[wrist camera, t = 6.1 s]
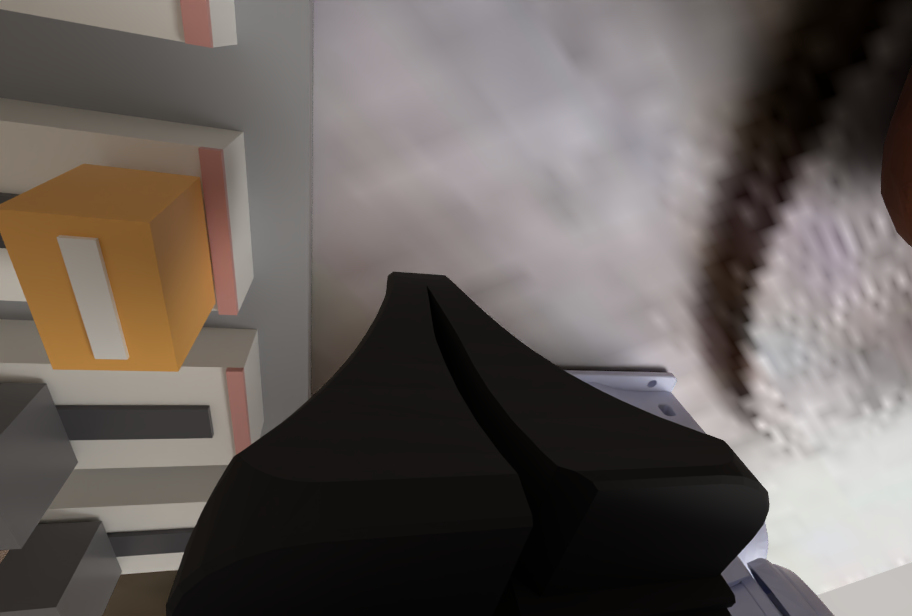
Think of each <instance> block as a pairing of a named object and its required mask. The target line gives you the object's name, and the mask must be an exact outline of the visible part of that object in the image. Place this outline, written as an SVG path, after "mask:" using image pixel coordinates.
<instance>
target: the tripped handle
mask: <svg viewBox="0 0 912 616" xmlns="http://www.w3.org/2000/svg"><path fill="white" fill-rule="evenodd" d="M0 233H1V236H2V238H3V241H4V244H5V246H6V249H7V251H8V254H9V257H10V259H11V262H12V264H13V267H14V270H15V272H16V275H17V277H18V280H19V283H20V285H21V288H22V290H23V293H24V296H25V298H26V301H27V303H28V306H29V309H30V311H31V314H32V316H33V319H34V322H35V324H36V327H37V329H38V332H39V335H40V337H41V340H42V342H43V345H44V348H45V350H46V353H47V355H48V358H49V361H50V363H51V366H52V368H53V370H110V371H167V372H179V370H180V368H181V366H182V364H183V362H184V360H185V359H186V357H187V355H188V353H189V351H190V349H191V347H192V346H193V344H194V342H195V340H196V338H197V336H198V334H199V333H200V331H201V329H202V327H203V325H204V323H205V322H206V320H207V318H208V316H209V314H210V312H211V310H212V309H213V307H214V305H215V303H216V302H215V294H214V286H213V278H212V270H211V262H210V254H209V246H208V238H207V230H206V222H205V215H204V207H203V199H202V191H201V183H200V177H196V176H187V175H179V174H170V173H161V172H153V171H144V170H135V169H126V168H118V167H109V166H100V165H92V164H82V165H80V166H78V167H76V168H74V169H72V170H69V171H67V172H65V173H63V174H61V175H59V176H57V177H55V178H53V179H51V180H49V181H47V182H45V183H43V184H41V185H39V186H36V187H34V188H32V189H30V190H28V191H26V192H24V193H22V194H20V195H18V196H16V197H14V198H12V199H10V200H8V201H5V202H3V203H1V204H0Z"/></svg>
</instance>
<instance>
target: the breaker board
mask: <svg viewBox="0 0 912 616" xmlns="http://www.w3.org/2000/svg"><path fill="white" fill-rule="evenodd" d="M312 147H313V0H0V204H1V203H3V202H5V201H8V200H10V199H12V198H14V197H16V196H18V195H20V194H22V193H24V192H26V191H28V190H30V189H32V188H34V187H36V186H39V185H41V184H43V183H45V182H47V181H49V180H51V179H53V178H55V177H57V176H59V175H61V174H63V173H65V172H67V171H69V170H72V169H74V168H76V167H78V166H80V165H82V164H92V165H100V166H109V167H118V168H126V169H135V170H144V171H153V172H161V173H170V174H179V175H187V176H196V177H200V183H201V191H202V199H203V207H204V215H205V222H206V230H207V238H208V246H209V254H210V262H211V270H212V278H213V286H214V294H215V302H216V303H215V305H214V307H213V309H212V310H211V312H210V314H209V316H208V318H207V320H206V322H205V323H204V325H203V327H202V329H201V331H200V333H199V334H198V336H197V338H196V340H195V342H194V344H193V346H192V347H191V349H190V351H189V353H188V355H187V357H186V359H185V360H184V362H183V364H182V366H181V368H180V370H179V372H167V371H110V370H53V368H52V366H51V363H50V361H49V358H48V355H47V353H46V350H45V348H44V345H43V342H42V340H41V337H40V335H39V332H38V329H37V327H36V324H35V322H34V319H33V316H32V314H31V311H30V309H29V306H28V303H27V301H26V298H25V296H24V293H23V290H22V288H21V285H20V283H19V280H18V277H17V275H16V272H15V270H14V267H13V264H12V262H11V259H10V257H9V254H8V251H7V249H6V246H5V244H4V241H3V238H2V236H1V233H0V550H9V552H8V553H7V555H6V556H5V558H4V559H3V561H2V562H1V563H0V616H102V615H103V613H104V611H105V609H106V606H107V604H108V602H109V600H110V597H111V595H112V593H113V591H114V588H115V586H116V584H117V582H118V579H119V577H120V575H121V574H133V573H146V572H158V571H170V570H178V569H179V566H180V563H181V560H182V557H183V554H184V551H185V548H186V545H187V543H188V541H189V538H190V536H191V533H192V531H193V529H194V527H195V525H196V523H197V521H198V519H199V517H200V515H201V512H202V510H203V508H204V506H205V505H206V503H207V501H208V499H209V497H210V495H211V493H212V492H213V490H214V488H215V486H216V485H217V483H218V481H219V479H220V478H221V476H222V474H223V473H224V471H225V469H226V468H227V466H228V465H229V463H230V461H231V460H232V458H233V457H234V456H235V455H237V454H238V453H240V452H241V451H243V450H244V449H245V448H247V447H248V446H250V445H251V444H252V443H254V442H255V441H257V440H258V439H259V438H261V437H262V436H264V435H265V434H266V433H268V432H269V431H271V430H272V429H273V428H275V427H276V426H278V425H279V424H280V423H282V422H283V421H284V420H285V419H287V418H288V417H289V416H290V415H292V414H293V413H294V412H295V411H296V410H297V409H298V408H300V407H301V406H302V405H303V404H304V403H305V402H306V401H307V400H309V399H310V398H311V309H312Z"/></svg>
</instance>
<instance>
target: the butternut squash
mask: <svg viewBox="0 0 912 616" xmlns="http://www.w3.org/2000/svg"><path fill="white" fill-rule="evenodd" d="M881 194H882V197H883V200H884V203H885V206H886V208H887V210H888V212H889V215H890V217H891V219H892V222H893V224H894V226H895V229H896V231H897V233H898V234H899V235H900V236H901V237H902V238H903V239H904V240H905V241H906V242H907V243H908V244H909V245H910V246H911V247H912V65H911V67H910V70H909V73H908V76H907V78H906V81H905V84H904V87H903V89H902V92H901V95H900V98H899V100H898V103H897V106H896V109H895V111H894V114H893V117H892V119H891V122H890V125H889V128H888V132H887V135H886V139H885V142H884V149H883V161H882V173H881Z"/></svg>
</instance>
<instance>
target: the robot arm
mask: <svg viewBox="0 0 912 616" xmlns="http://www.w3.org/2000/svg"><path fill="white" fill-rule="evenodd" d="M676 382H677V379H676V377H675V376H674V375H673V374H672V373H668V372H623V371H579V370H563V369H561V368H559V367H558V366H556V365H554V364H553V363H551V362H550V361H548V360H547V359H545V358H544V357H542V356H541V355H539V354H538V353H536V352H534V351H533V350H531V349H530V348H529V347H527V346H526V345H524V344H523V343H522V342H520V341H519V340H518V339H517V338H515V337H514V336H513V335H511V334H510V333H509V332H508V331H506V330H505V329H504V328H503V327H501V326H500V325H499V324H498V323H497V322H495V321H494V320H493V319H492V318H491V317H490V316H488V315H487V314H486V313H485V312H484V311H483V310H482V309H481V308H480V307H478V306H477V305H476V304H475V303H474V302H473V301H472V300H471V299H470V298H469V297H468V296H467V295H466V294H465V293H464V292H463V291H462V290H461V289H459V288H458V287H457V286H456V285H455V284H454V283H453V282H452V281H451V280H450V279H449V278H447V277H446V276H445V275H431V274H417V273H404V272H392V273H391V274H390V275H388V280H387V289H386V295H385V298H384V301H383V303H382V305H381V307H380V310H379V312H378V314H377V316H376V318H375V320H374V321H373V323H372V325H371V326H370V328H369V330H368V332H367V333H366V335H365V336H364V338H363V339H362V341H361V342H360V344H359V345H358V347H357V348H356V349H355V351H354V352H353V353H352V354H351V356H350V357H349V358H348V360H347V361H346V362H345V363H344V364H343V365H342V367H341V368H340V369H339V370H338V371H337V372H336V373H335V374H334V375H333V377H332V378H331V379H330V380H329V381H328V382H327V383H326V384H325V385H324V386H323V387H322V388H321V389H320V390H319V391H318V392H317V393H315V394H314V395H313V396H312V397H311V398H310V399H309V400H307V401H306V402H305V403H304V404H303V405H302V406H301V407H300V408H298V409H297V410H296V411H295V412H294V413H293V414H292V415H290V416H289V417H288V418H287V419H285V420H284V421H283V422H282V423H280V424H279V425H278V426H276V427H275V428H273V429H272V430H271V431H269V432H268V433H266V434H265V435H264V436H262V437H261V438H259V439H258V440H257V441H255V442H254V443H252V444H251V445H250V446H248V447H247V448H245V449H244V450H243V451H241V452H240V453H238V454H237V455H235V456H234V457H233V458H232V460H231V461H230V463H229V465H228V466H227V468H226V469H225V471H224V473H223V474H222V476H221V478H220V479H219V481H218V483H217V485H216V486H215V488H214V490H213V492H212V493H211V495H210V497H209V499H208V501H207V503H206V505H205V506H204V508H203V510H202V512H201V515H200V517H199V519H198V521H197V523H196V525H195V527H194V529H193V531H192V533H191V536H190V538H189V541H188V543H187V545H186V548H185V551H184V554H183V557H182V560H181V563H180V566H179V569H178V572H177V575H176V578H175V580H174V583H173V586H172V589H171V592H170V595H169V598H168V601H167V604H166V616H834V615H833V614H832V613H831V612H830V610H829V609H828V608H827V607H826V606H825V604H824V603H823V602H822V601H821V600H820V599H819V598H818V596H817V595H816V594H815V593H814V592H813V591H812V590H811V589H810V588H809V587H808V586H807V585H806V584H805V583H804V582H803V581H802V580H801V579H800V578H799V577H798V576H797V575H796V574H795V573H794V572H792V571H791V570H789V569H787V568H784V567H781V566H778V565H776V564H772V563H771V562H769V561H768V560H766V558H767V552H768V534H767V529H766V524H765V519H766V516H767V514H768V511H769V497H768V492H767V490H766V489H765V488H764V487H763V486H762V485H761V483H760V482H759V481H758V480H757V479H756V477H755V476H754V475H753V474H752V473H751V472H750V470H749V469H748V468H747V467H746V466H745V464H744V463H743V462H742V461H741V460H740V459H739V457H738V456H737V455H736V454H735V453H734V451H733V450H732V449H731V448H730V447H729V445H728V444H727V443H726V442H725V441H723V440H721V439H718V438H716V437H713V436H710V435H707V434H706V433H705V432H704V431H703V430H702V429H701V427H700V426H699V425H698V424H697V423H696V421H695V420H694V419H693V418H692V417H691V415H690V414H689V413H688V412H687V411H686V410H685V408H684V407H683V406H682V405H681V404H680V402H679V401H678V400H677V399H676V398H675V396H674V395H673V394H672V393H671V392H672V390H673V388H674V386H675V385H676Z"/></svg>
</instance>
